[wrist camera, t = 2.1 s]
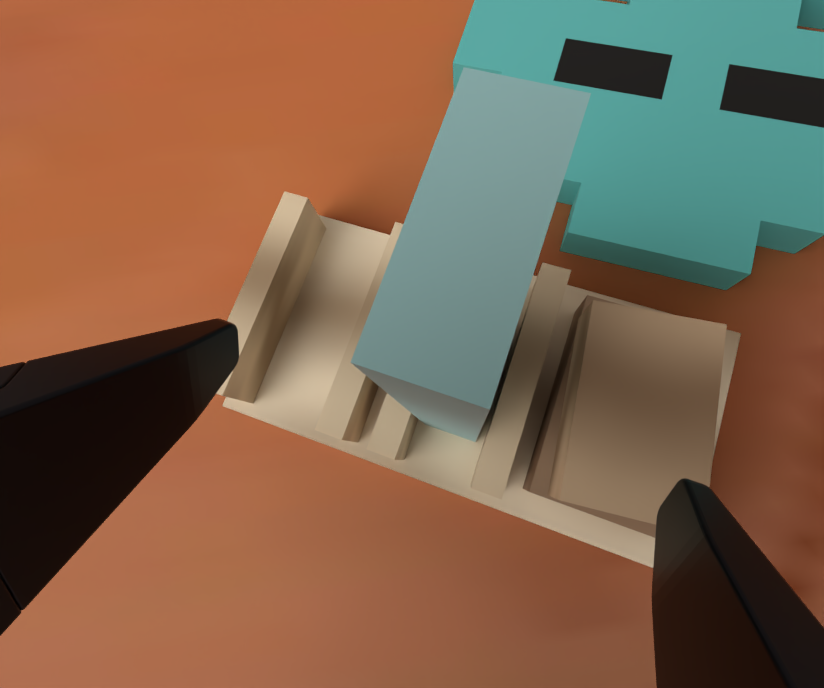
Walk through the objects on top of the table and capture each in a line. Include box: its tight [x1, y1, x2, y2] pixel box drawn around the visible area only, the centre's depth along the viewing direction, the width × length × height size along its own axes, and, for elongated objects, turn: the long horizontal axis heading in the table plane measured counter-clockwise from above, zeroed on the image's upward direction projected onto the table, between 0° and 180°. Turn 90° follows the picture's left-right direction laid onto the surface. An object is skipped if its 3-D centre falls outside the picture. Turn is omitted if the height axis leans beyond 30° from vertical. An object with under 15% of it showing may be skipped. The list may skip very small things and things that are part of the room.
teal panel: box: [350, 67, 591, 442], centre depth 13 cm, size 5×2×12 cm, turn 160°
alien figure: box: [453, 0, 824, 290], centre depth 21 cm, size 20×2×20 cm
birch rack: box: [216, 192, 741, 568], centre depth 18 cm, size 9×18×4 cm, turn 70°
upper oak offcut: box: [548, 300, 727, 525], centre depth 15 cm, size 6×4×2 cm, turn 166°
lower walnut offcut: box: [523, 295, 656, 538], centre depth 17 cm, size 7×4×2 cm, turn 160°
